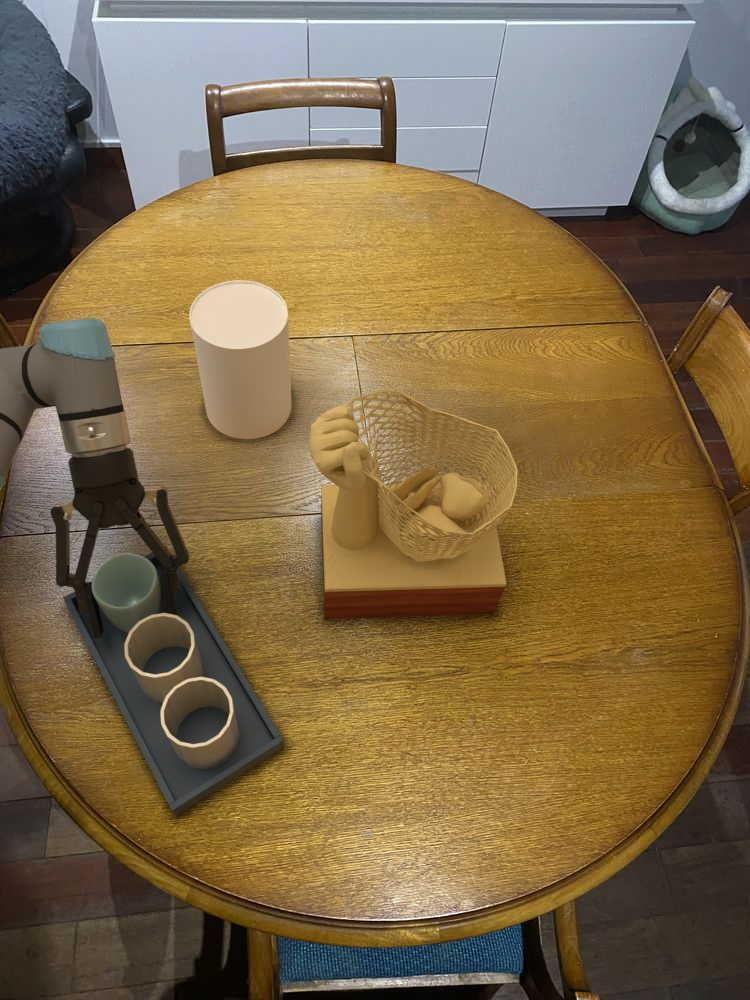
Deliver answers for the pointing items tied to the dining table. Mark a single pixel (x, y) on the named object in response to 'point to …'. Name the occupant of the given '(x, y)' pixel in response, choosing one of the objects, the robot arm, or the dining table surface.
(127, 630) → the cup
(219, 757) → the cup
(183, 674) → the cup
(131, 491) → the robot arm
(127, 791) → the dining table surface
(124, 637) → the tray
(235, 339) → the canister
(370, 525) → the basket
